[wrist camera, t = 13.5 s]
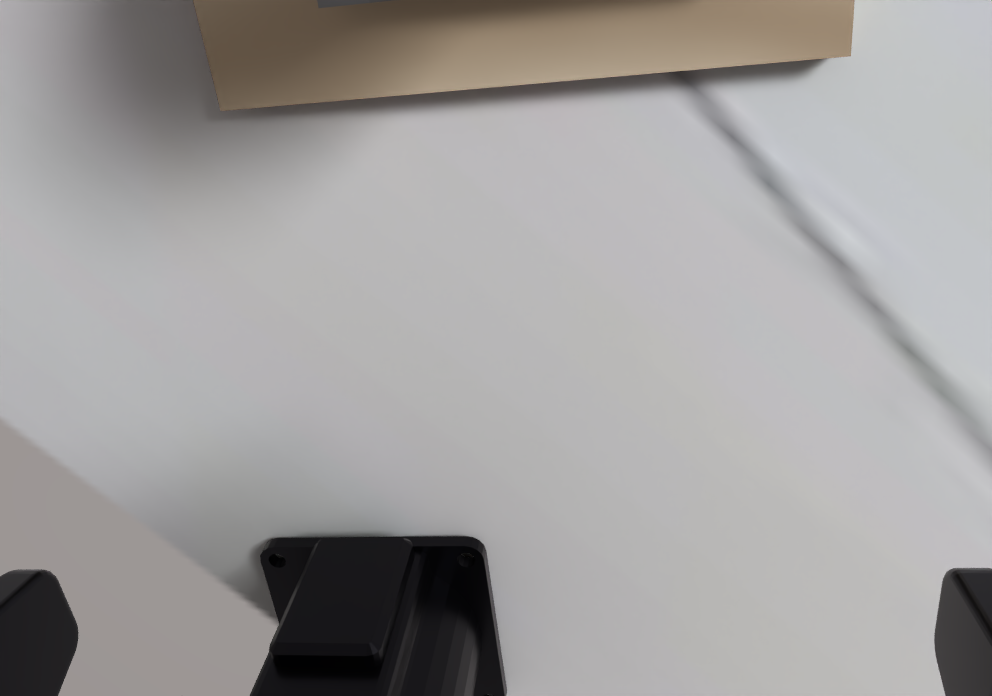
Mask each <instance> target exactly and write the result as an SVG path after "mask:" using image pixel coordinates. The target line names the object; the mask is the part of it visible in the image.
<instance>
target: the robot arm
mask: <svg viewBox="0 0 992 696" xmlns="http://www.w3.org/2000/svg"><path fill="white" fill-rule="evenodd" d="M462 553H468V554H471V555H472V556H474V557H471V558H469V557H465V556H463V555H462ZM275 554H279V555H281V556H283V557H284V558H279V557H278V556H276V555H275ZM260 557H261V564H262V567H263V570H264V574H265V577H266V580H267V584H268V587H269V590H270V594H271V597H272V601H273V604H274V607H275V611H276V614H277V617H278V621H279V626H278V628H277V630H276V633H275V635H274V637H273V639H272V642H271V644H270V649H269V653H268V656H267V658H266V660H265V662H264V665H263V667H262V669H261V671H260V674H259V676H258V678H257V680H256V683H255V685H254V687H253V689H252V692H251V694H250V696H491V695H493V696H506V693H507V687H506V681H505V674H504V667H503V660H502V654H501V647H500V640H499V634H498V627H497V620H496V613H495V607H494V600H493V593H492V587H491V580H490V573H489V566H488V560H487V553H486V549H485V546H484V545H483V544H482V543H481V542H480V541H479V540H477V539H475V538H473V537H466V536H463V537H338V538H275V539H271V540H270V541H268V542H267V544H266V546H265V548H264V550H263V552H262V554H261V556H260ZM77 642H78V627H77V623H76V621H75V618H74V616H73V614H72V611H71V609H70V607H69V604H68V602H67V600H66V598H65V595H64V593H63V591H62V588H61V586H60V584H59V581H58V580H57V578H56V576H55V575H53V574H52V573H51V572H50V571H47V570H13V571H10V572H8V573H6V574H4V575H2V576H0V696H58V694H59V691H60V689H61V686H62V684H63V681H64V679H65V676H66V674H67V671H68V669H69V666H70V664H71V661H72V658H73V656H74V653H75V651H76V647H77ZM934 643H935V653H936V659H937V663H938V667H939V671H940V675H941V679H942V683H943V687H944V691H945V695H946V696H992V569H990V568H953V569H951V570H949V571H947V572H946V574H945V576H944V578H943V582H942V588H941V594H940V601H939V608H938V614H937V621H936V628H935V638H934ZM487 694H489V695H487Z"/></svg>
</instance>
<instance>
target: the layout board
mask: <svg viewBox="0 0 992 696" xmlns="http://www.w3.org/2000/svg"><path fill="white" fill-rule="evenodd" d="M193 2H194V6H195V10H196V14H197V18H198V22H199V26H200V30H201V34H202V38H203V42H204V46H205V50H206V54H207V58H208V62H209V66H210V70H211V74H212V78H213V82H214V86H215V90H216V94H217V98H218V102H219V106H220V110H221V111H228V110H239V109H250V108H262V107H273V106H285V105H296V104H308V103H319V102H331V101H342V100H354V99H365V98H377V97H388V96H400V95H411V94H422V93H434V92H445V91H457V90H468V89H480V88H491V87H503V86H514V85H526V84H537V83H549V82H560V81H571V80H583V79H594V78H606V77H617V76H629V75H640V74H652V73H663V72H675V71H686V70H698V69H709V68H721V67H732V66H743V65H755V64H766V63H778V62H789V61H801V60H812V59H824V58H835V57H847V56H851V45H852V30H853V15H854V0H193Z"/></svg>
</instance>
